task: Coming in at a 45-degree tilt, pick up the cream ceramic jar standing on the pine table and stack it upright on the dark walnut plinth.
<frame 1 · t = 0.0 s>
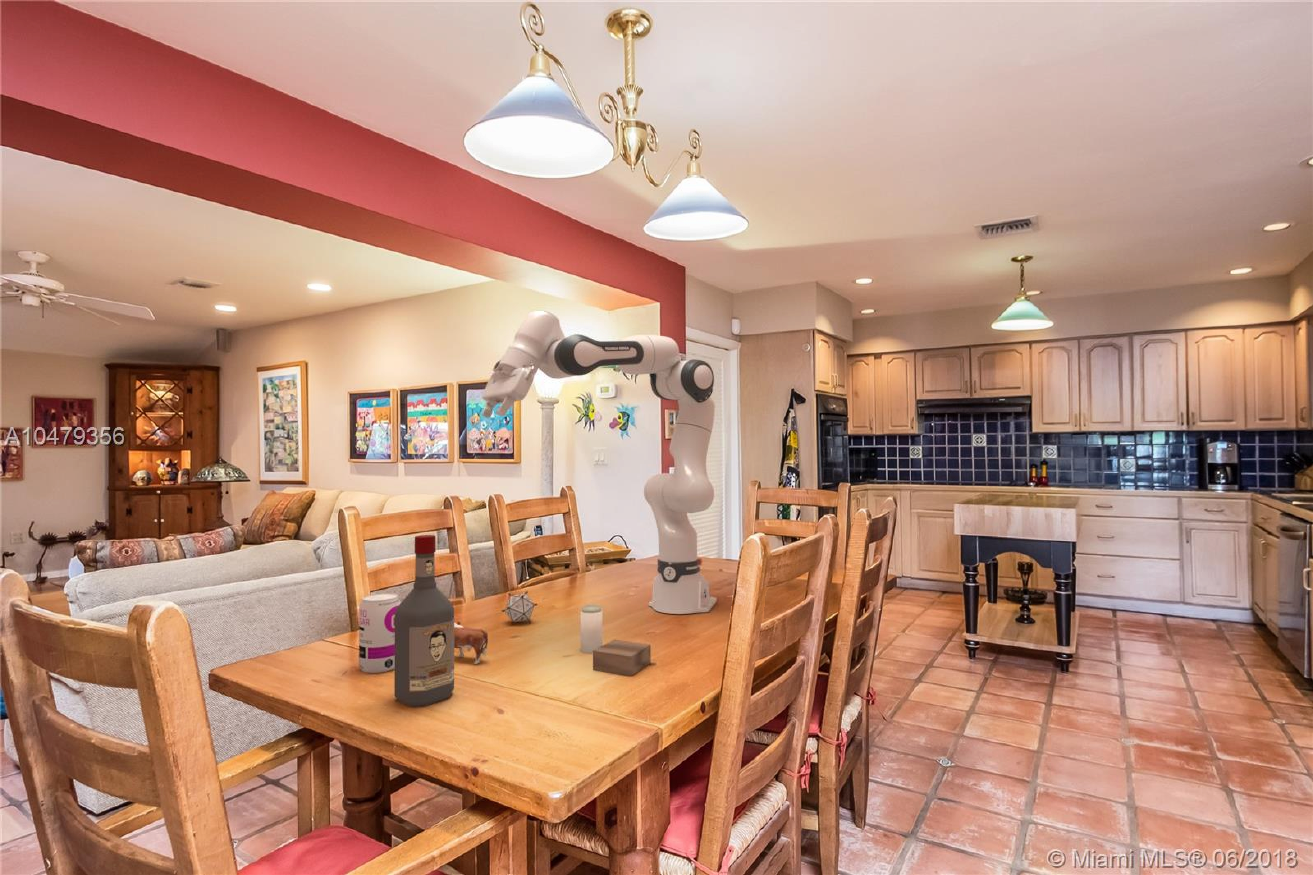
hand: (492, 416, 159), 54 cm above the table, tool tilted 30°, fingers open, 8 cm apart
bull figurine: (463, 660, 145), on the table
game die: (519, 623, 176), on the table
jar: (591, 650, 152), on the table
plinth: (622, 666, 140), on the table
liquor: (424, 697, 123), on the table
supplement can: (379, 668, 140), on the table
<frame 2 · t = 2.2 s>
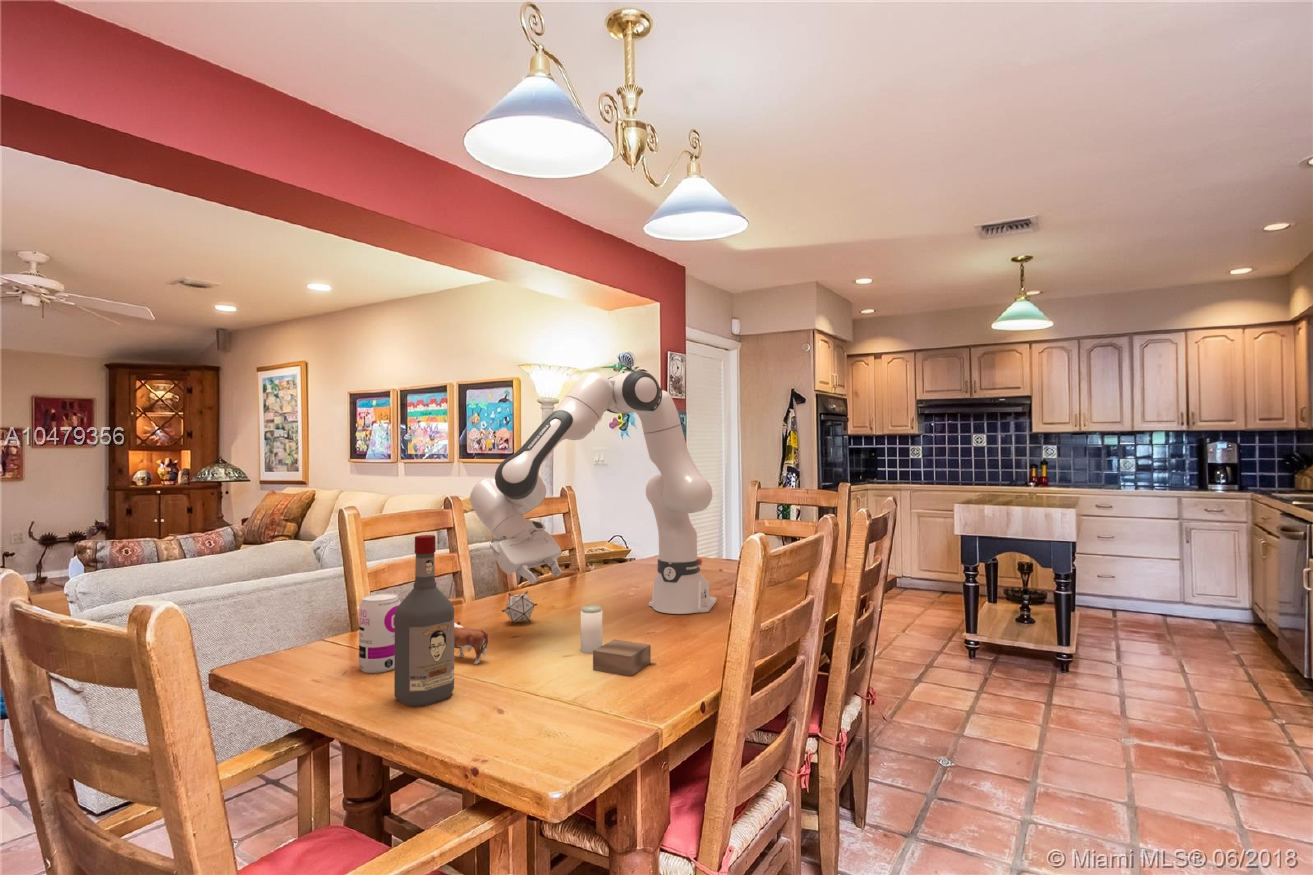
hand: (547, 578, 157), 15 cm above the table, tool tilted 45°, fingers open, 8 cm apart
nothing on the table moved.
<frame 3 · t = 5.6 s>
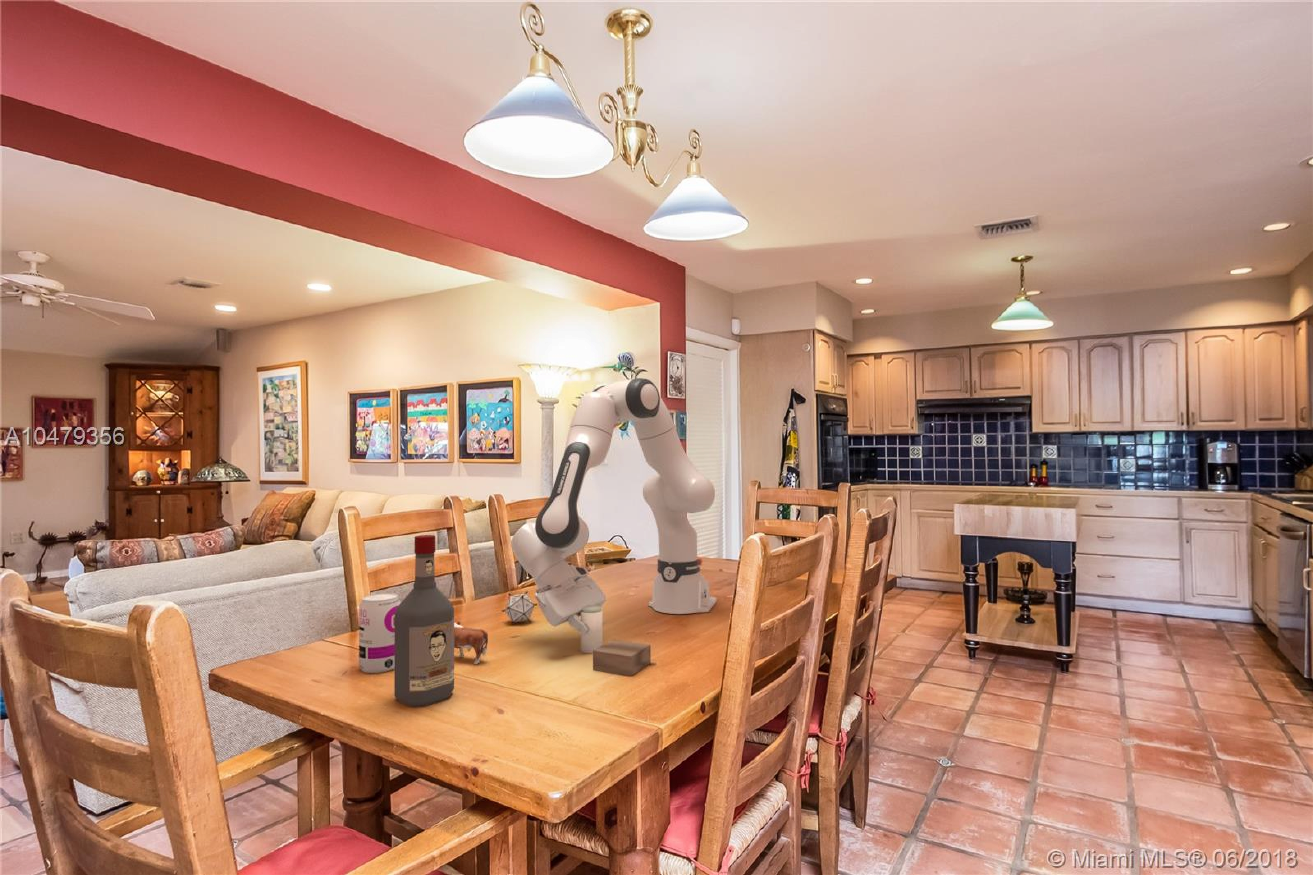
hand: (593, 628, 151), 5 cm above the table, tool tilted 45°, fingers closed on jar, 5 cm apart
jar: (591, 650, 152), on the table, touching gripper
everything else where it was.
when the fingers open (11 cm above the table, at t = 9.9 s): jar drops 2 cm, resting on plinth.
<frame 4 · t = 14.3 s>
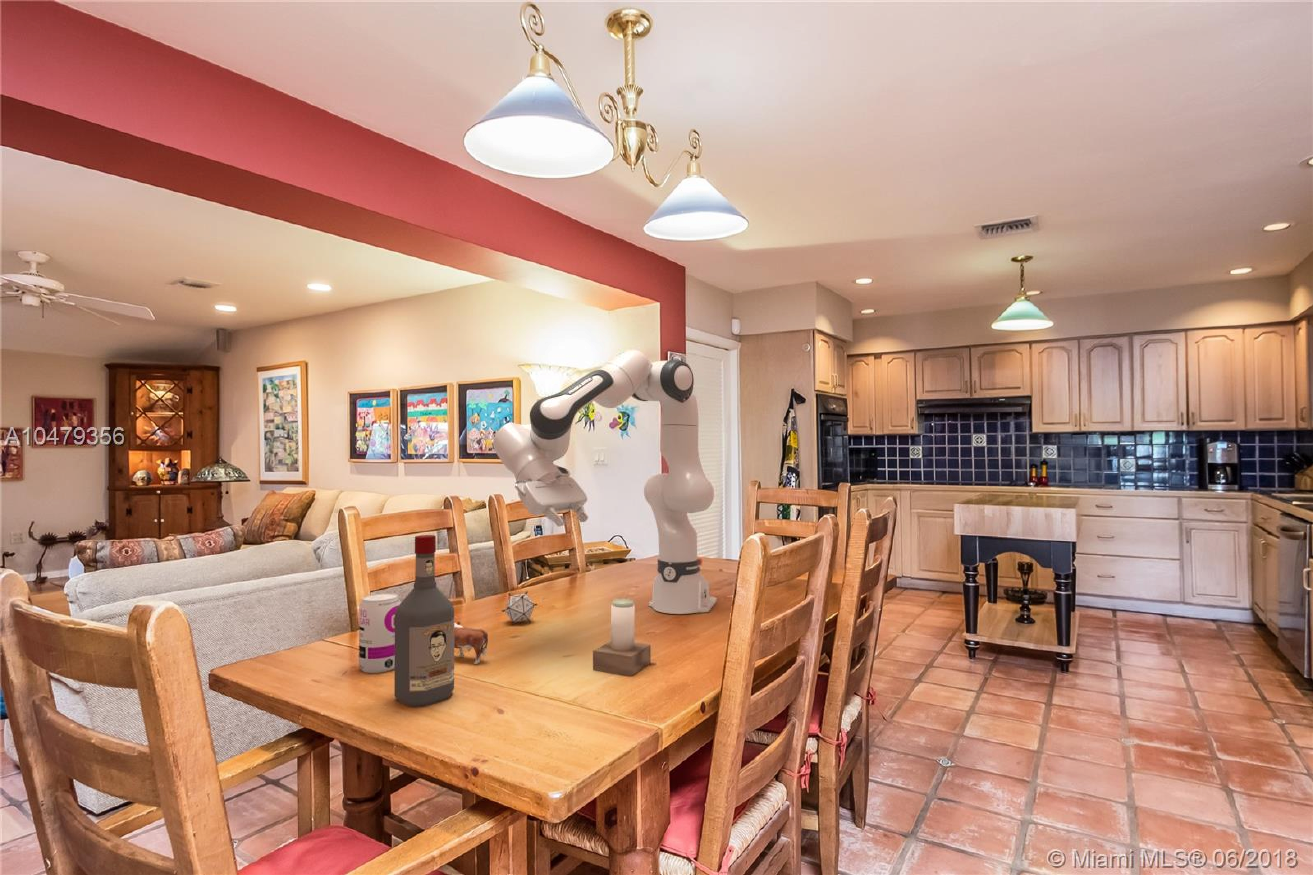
hand: (574, 522, 152), 29 cm above the table, tool tilted 45°, fingers open, 8 cm apart
jar: (622, 647, 140), point 4 cm above the table, touching plinth
everything else where it was.
at the end: jar 0.1 cm off-centre on the plinth, point 4.1 cm above the plinth's base; jar tilted 2°; the gripper is holding nothing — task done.
